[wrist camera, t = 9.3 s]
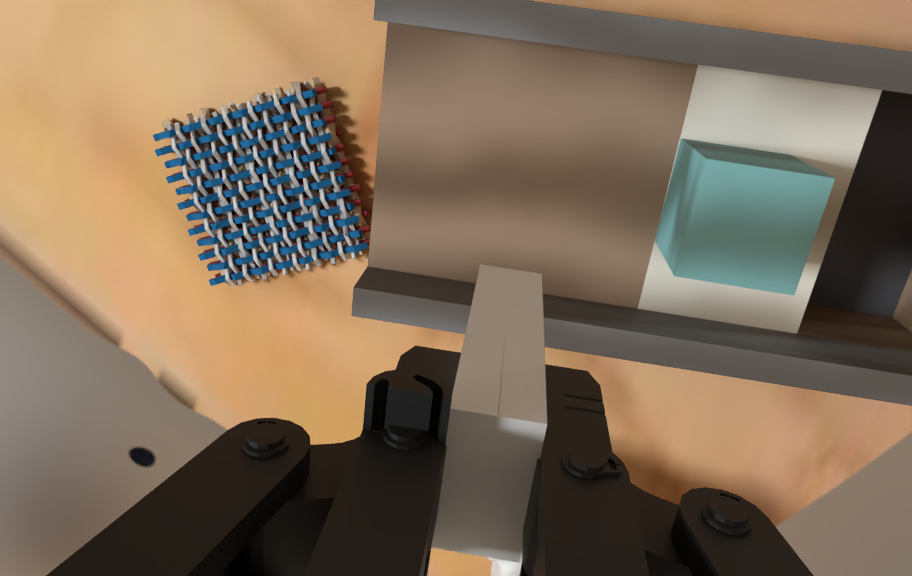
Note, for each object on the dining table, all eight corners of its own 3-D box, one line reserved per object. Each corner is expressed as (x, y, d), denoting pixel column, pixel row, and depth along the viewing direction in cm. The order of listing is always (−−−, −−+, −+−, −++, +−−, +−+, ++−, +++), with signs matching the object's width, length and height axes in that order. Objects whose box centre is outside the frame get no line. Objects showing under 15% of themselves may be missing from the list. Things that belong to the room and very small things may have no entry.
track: (409, -12, 35) (376, -20, 28) (1053, 75, 33) (1202, 91, 26) (384, 261, 41) (351, 315, 33) (934, 347, 39) (1028, 424, 32)
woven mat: (385, 247, 41) (378, 258, 39) (226, 284, 43) (212, 296, 41) (329, 71, 37) (318, 73, 36) (159, 120, 39) (140, 125, 38)
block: (680, 138, 31) (706, 158, 27) (790, 154, 31) (835, 178, 27) (654, 240, 33) (674, 276, 29) (757, 257, 33) (794, 295, 28)
